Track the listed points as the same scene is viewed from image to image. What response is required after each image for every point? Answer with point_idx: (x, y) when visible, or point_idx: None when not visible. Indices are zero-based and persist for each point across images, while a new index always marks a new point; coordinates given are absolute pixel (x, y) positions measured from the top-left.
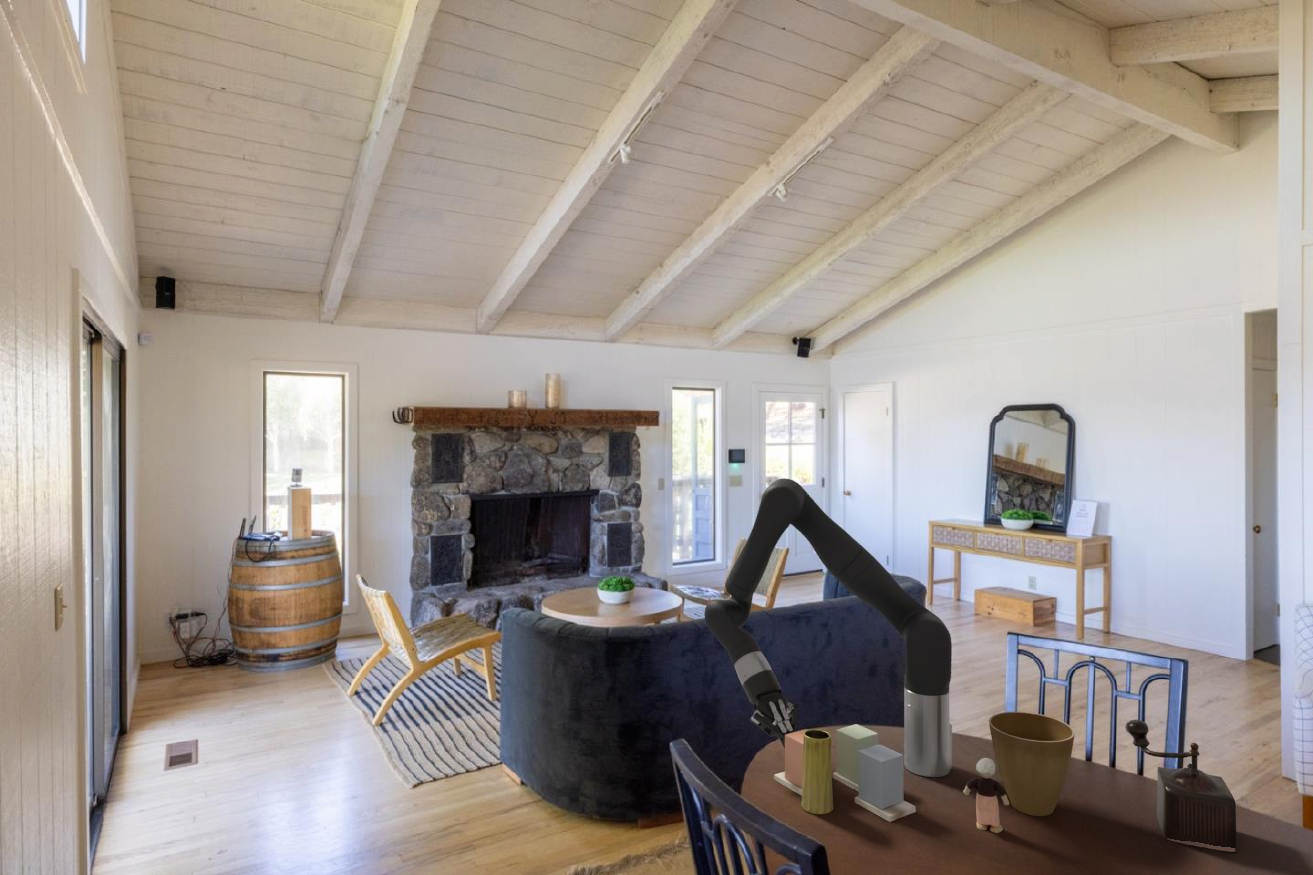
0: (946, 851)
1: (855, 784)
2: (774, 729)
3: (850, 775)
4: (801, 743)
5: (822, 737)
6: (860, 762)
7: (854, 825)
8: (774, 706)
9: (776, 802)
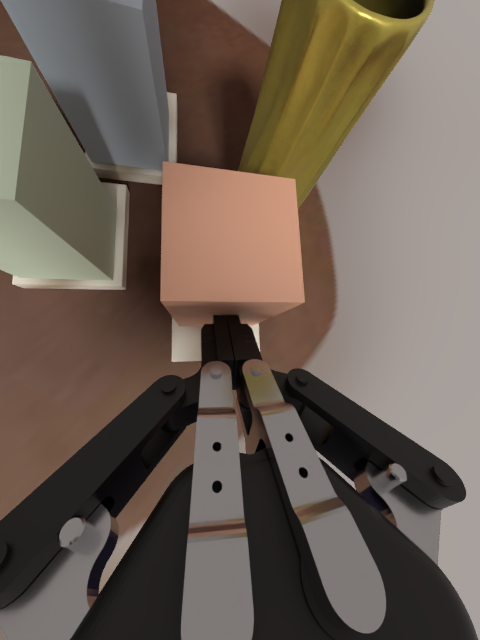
0: (172, 8)
1: (121, 213)
2: (311, 378)
3: (110, 225)
4: (295, 199)
5: (295, 22)
6: (151, 61)
7: (242, 140)
8: (317, 531)
9: (311, 275)
